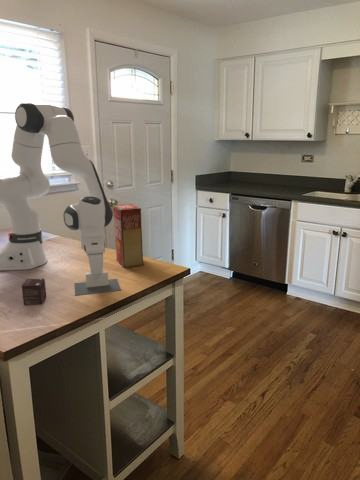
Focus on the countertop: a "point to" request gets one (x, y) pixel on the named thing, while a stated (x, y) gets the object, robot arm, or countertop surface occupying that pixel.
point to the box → (34, 291)
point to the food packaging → (128, 235)
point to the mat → (96, 288)
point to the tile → (102, 279)
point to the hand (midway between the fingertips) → (95, 278)
